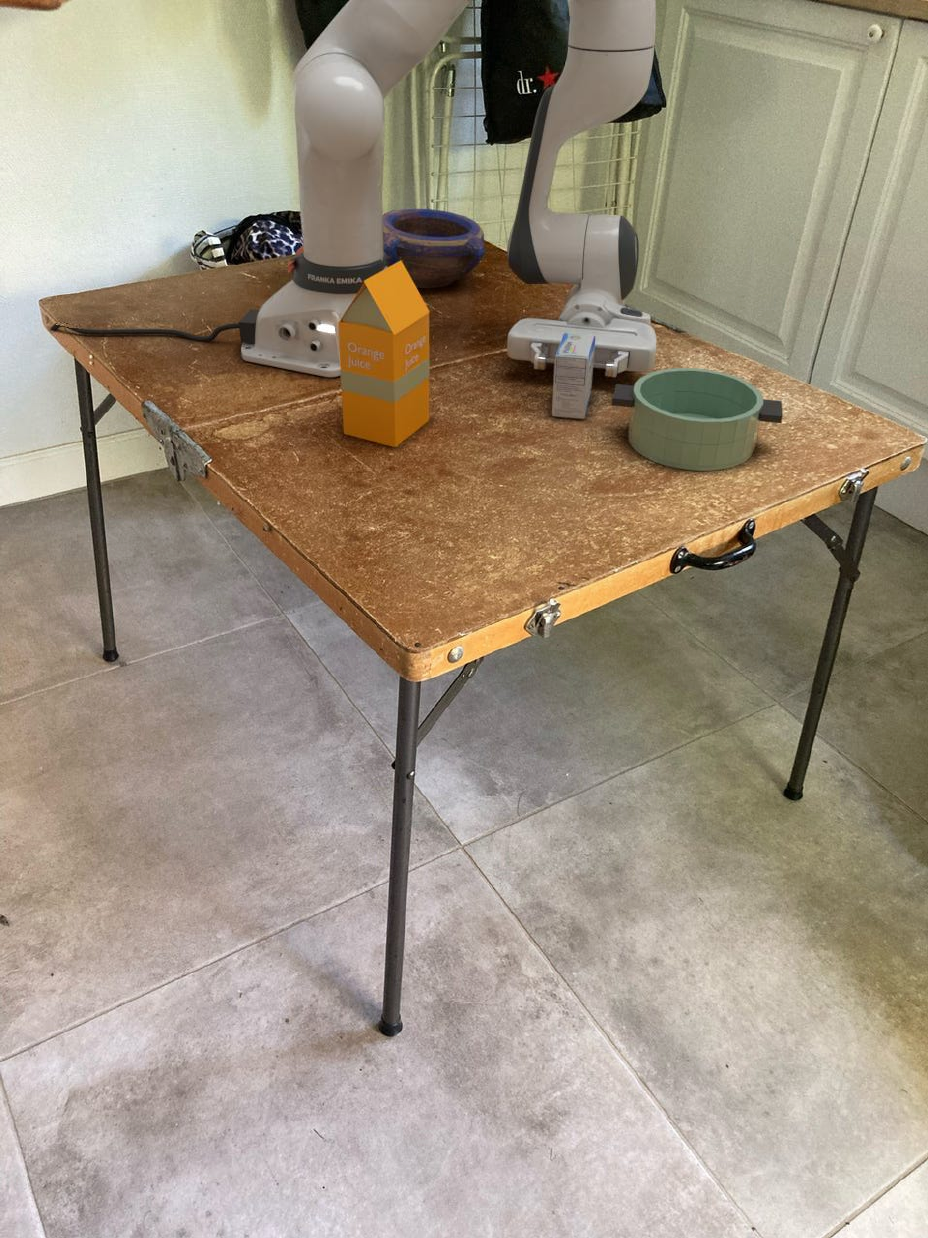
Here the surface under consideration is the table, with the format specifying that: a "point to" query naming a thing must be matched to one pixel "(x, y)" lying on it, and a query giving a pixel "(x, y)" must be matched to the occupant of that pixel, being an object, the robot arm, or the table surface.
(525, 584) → the table surface
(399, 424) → the orange juice
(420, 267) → the bowl
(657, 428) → the pot
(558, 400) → the medicine box
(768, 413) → the pot handles
